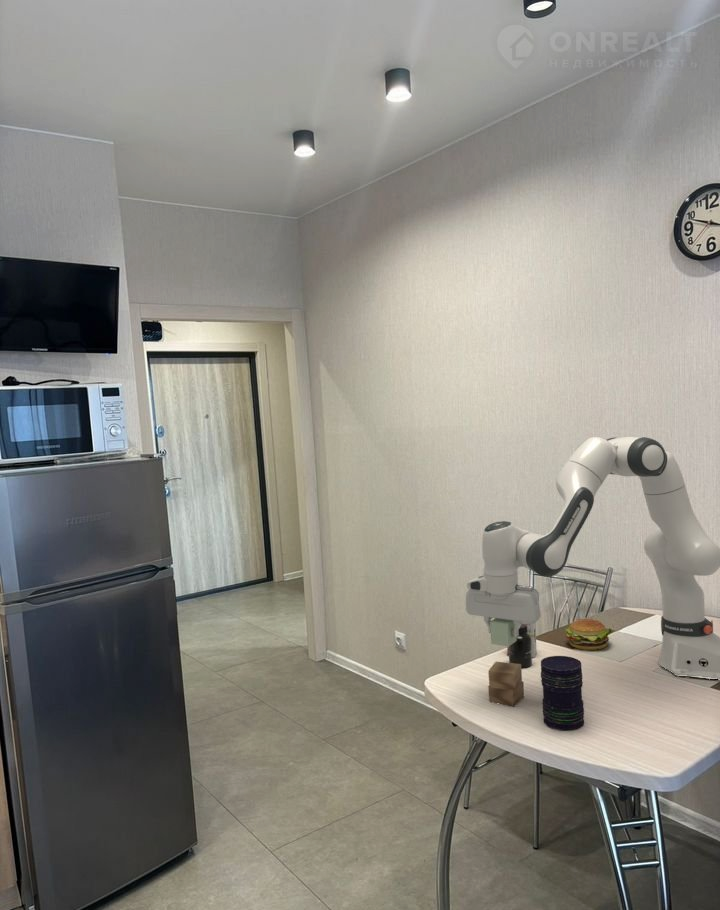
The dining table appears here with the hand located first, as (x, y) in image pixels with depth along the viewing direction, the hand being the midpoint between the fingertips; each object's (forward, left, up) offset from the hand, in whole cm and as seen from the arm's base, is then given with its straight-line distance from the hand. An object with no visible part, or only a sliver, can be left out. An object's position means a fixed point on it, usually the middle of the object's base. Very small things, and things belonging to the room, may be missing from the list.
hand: (503, 634), depth 186 cm
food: (-5, -50, -18) cm, 53 cm away
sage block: (0, 0, -2) cm, 2 cm away
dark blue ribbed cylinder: (-18, +5, -18) cm, 26 cm away
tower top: (0, 0, -14) cm, 14 cm away
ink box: (+10, -33, -18) cm, 39 cm away
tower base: (0, 0, -18) cm, 18 cm away
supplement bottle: (+7, -25, -18) cm, 32 cm away
